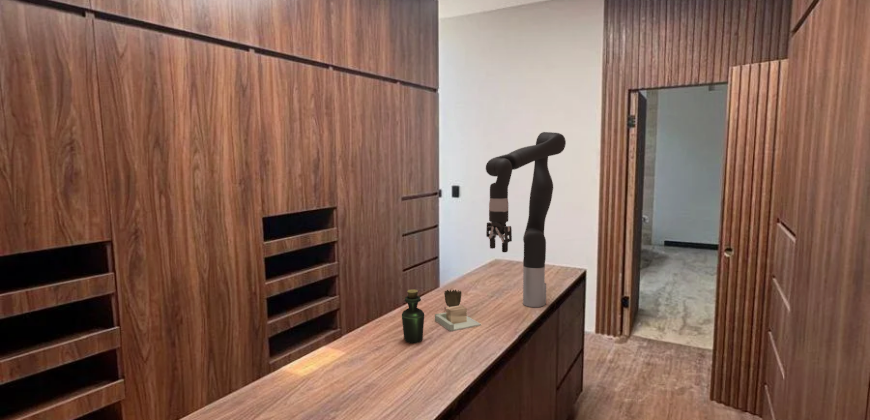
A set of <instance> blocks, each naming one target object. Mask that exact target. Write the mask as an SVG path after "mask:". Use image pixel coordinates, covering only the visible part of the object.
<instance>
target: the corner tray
mask: <svg viewBox="0 0 870 420" xmlns="http://www.w3.org/2000/svg"><path fill="white" fill-rule="evenodd" d="M434 321H435V322H437V323H438V324H439V325H441V326H442V327H444V328H445V329H446V330H448V331H449V332H454V331H459V330H463V329H470V328H475V327H479V326H482V323H481V322H478V321H477V320H475V319H473V318H471V317H470V316H468V315H467V322H461V323H456V324H453V323H451V322H450V321H448V320H447V319H446V311H445V312H441V313H434Z"/></svg>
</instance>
